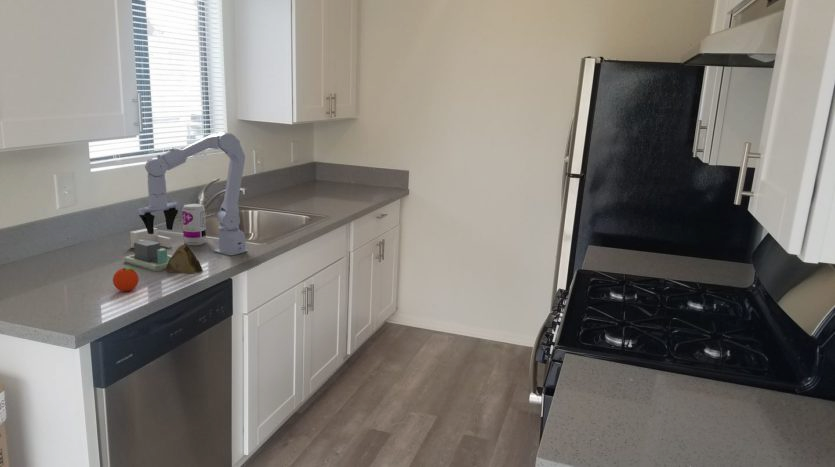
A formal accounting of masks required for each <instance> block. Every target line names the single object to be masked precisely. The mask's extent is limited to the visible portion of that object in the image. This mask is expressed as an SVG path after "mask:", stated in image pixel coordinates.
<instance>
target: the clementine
mask: <svg viewBox="0 0 835 467" xmlns="http://www.w3.org/2000/svg"><path fill="white" fill-rule="evenodd" d="M136 271H137V272H140V274H142V272H141V271H140V270H138V269H137V268H133V267H124V268H120V269H117V271H116V272H115V273H114V274H113V277H112V283H113V285H114V287H115V288H116V289H117V290H119V291H121V292H130V291H133V290H134V289H135V288H136V287H137V286H138V283H139V275H138V273H137V272H136Z"/></svg>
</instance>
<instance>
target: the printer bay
mask: <svg viewBox="0 0 835 467" xmlns="http://www.w3.org/2000/svg"><path fill="white" fill-rule="evenodd" d="M129 233H130V247H131V249H132V248H133V249H134V243H135V242H139V241H144V240H149V241H153V242H157V243H160V247H165V248H167V249H169V248H172V238H171V237H170V236H169V237H168V236H164V235H159V228H157V227H154V233H153V234H148V232H147V229H146V228H143V229H138V230H133V231H130V232H129Z"/></svg>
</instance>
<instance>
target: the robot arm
mask: <svg viewBox="0 0 835 467" xmlns="http://www.w3.org/2000/svg"><path fill="white" fill-rule="evenodd" d="M209 149H214V150H221V151H223V152H224V154H225V155H226V156H227V157H228V158H229V165H228V171H227V178H226V184H225V190H224V197H223V201H222V203H221V205H220V209H219V211H217V214H216V220H217V222H218V223H219V225H218V227H217V228H218V248H216V249H214V250H213V251H214V252H216V253H219V254H224V255H227V256H235V255H240V254H243V253H245V252H246V251H247V252H248V249H247V248H246V234H245V232H244V231H243V230H240V227H239V225H240V223H241V218H240V215H239V213H240V209H239V199H240V193H241V187H242V186H241V185H242V182H243V181H242V180H243V175H244V174H243V173H244V167H245V161H246V155H245V152H244V150H243V148H242V146H241V141H240V140H239V139H238V138H237V136H235V135H234V134H233V133H229V132H227V131H225V130H223V131H221V130H220V131H217V132H216V133H212V134H209V135H208V136H204V138H201V139H199V140H198V141H195V142H194V143H191V144H190V145H188V146H186V147H184V148H180V147H171V148H169V150H168V151H166V152H164V153H162V154H157V155H156V157H151V158H149V159H148V160H147V161H146V163H145V166H144V168H145V170H146V172H147V191H148V192H147V193H148V203H149V205H148V206H147V205H146V206H144V207H140V208H138V209H137V210H138V211H137V213H138V216H139V218H140V220H142V222H143V223H144V225H145V229H147V232H148V234H153V233H154V228H155V227H154V224H155V223H154V221H155V214H153V213H157V212H163V215H164V218H165V226H166V230H167V231H169V230H170V231H173V227H174V223H175V220H176V217H177V215H178V213H179V210H178V209H179V202H168V197H167V195H168V194H167V180H166V173H167V171H170V170H172V169H175V168H177V167H179V166H182V165H183V164H185V163H186V162H187V160H188V158H189V157H192V156H193V155H196V154H199V153H201V152H203V151H205V150H209Z"/></svg>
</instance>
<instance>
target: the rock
mask: <svg viewBox="0 0 835 467" xmlns="http://www.w3.org/2000/svg"><path fill="white" fill-rule="evenodd" d="M171 256H172V257H171V258H170V260H169V261H168V264H167V266H166V269H165V271H166V272H170V273H179V274H198V273H201V272H203V271H204V270H203V268H202V265H201V263H200V261H199V260H198V258H197V257H196V255H195V253H194V252H193V250H192V249H191V247H189V245H187V244H181V245H180V246H178V247H177V249H176V250H175V252H174V253H173V254H172V255H171Z"/></svg>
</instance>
